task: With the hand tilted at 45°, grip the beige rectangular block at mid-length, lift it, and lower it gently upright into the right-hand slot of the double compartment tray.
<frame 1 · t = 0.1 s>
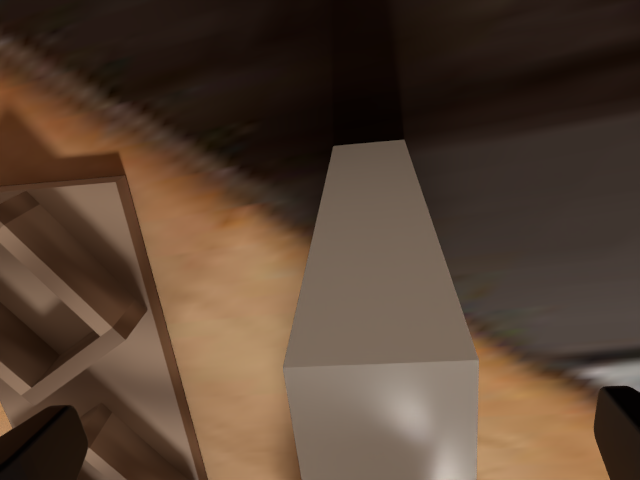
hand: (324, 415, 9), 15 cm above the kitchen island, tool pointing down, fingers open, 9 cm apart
double compartment tray: (91, 375, 28), on the kitchen island
beige rectangular block: (371, 187, 22), on the kitchen island
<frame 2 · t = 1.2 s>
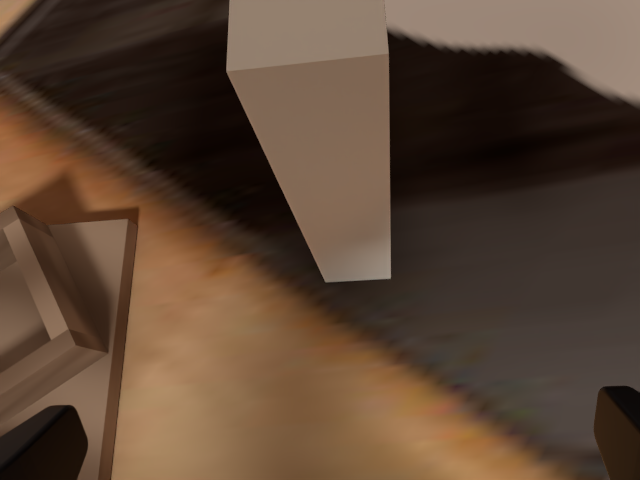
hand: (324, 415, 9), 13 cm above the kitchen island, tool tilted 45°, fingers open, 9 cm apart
double compartment tray: (5, 464, 22), on the kitchen island
beige rectangular block: (355, 239, 24), on the kitchen island
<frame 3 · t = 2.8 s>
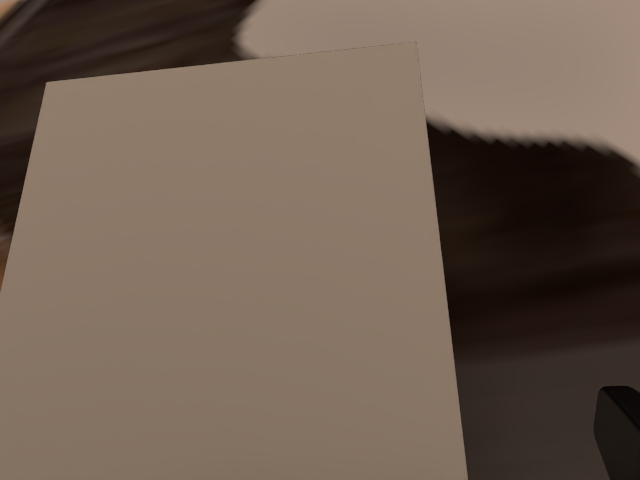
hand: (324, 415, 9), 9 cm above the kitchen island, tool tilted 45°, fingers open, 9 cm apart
beige rectangular block: (356, 415, 17), on the kitchen island
when the fingers open (10 cm above the kitchen island, at t = 7.8 s): beige rectangular block drops 1 cm, resting on double compartment tray.
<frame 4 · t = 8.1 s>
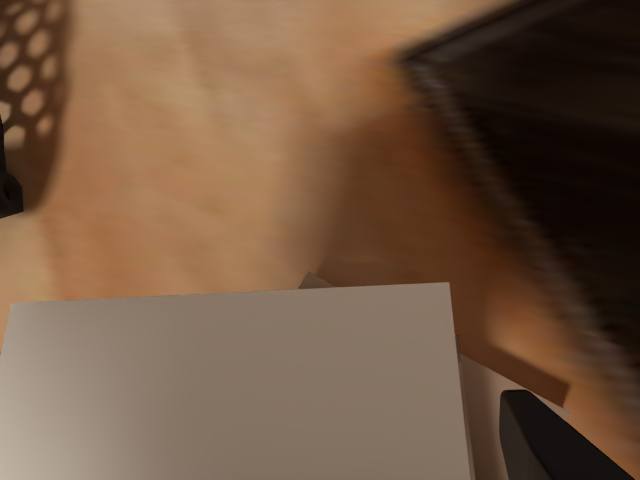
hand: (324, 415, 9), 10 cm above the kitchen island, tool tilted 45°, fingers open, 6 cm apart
beige rectangular block: (359, 469, 17), point 1 cm above the kitchen island, touching double compartment tray
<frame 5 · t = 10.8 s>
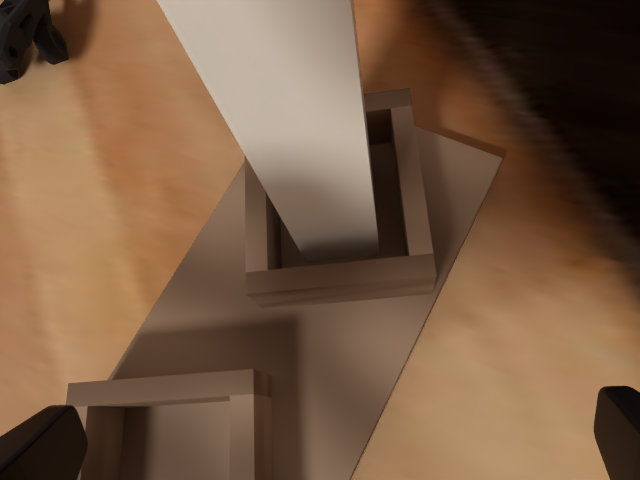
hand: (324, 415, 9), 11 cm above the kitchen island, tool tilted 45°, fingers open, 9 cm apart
double compartment tray: (273, 345, 21), on the kitchen island
beige rectangular block: (339, 212, 21), point 1 cm above the kitchen island, touching double compartment tray
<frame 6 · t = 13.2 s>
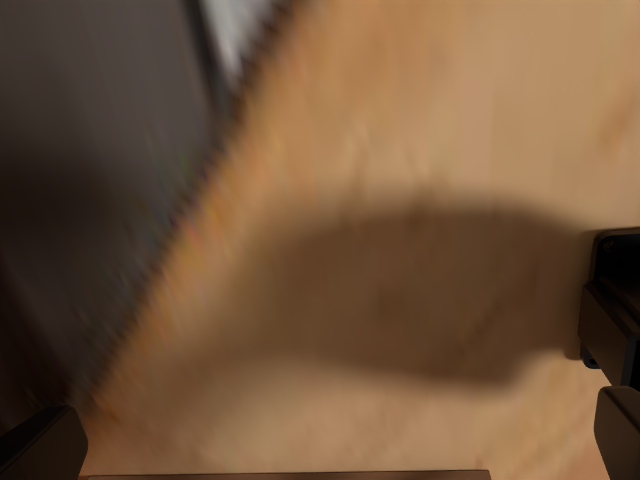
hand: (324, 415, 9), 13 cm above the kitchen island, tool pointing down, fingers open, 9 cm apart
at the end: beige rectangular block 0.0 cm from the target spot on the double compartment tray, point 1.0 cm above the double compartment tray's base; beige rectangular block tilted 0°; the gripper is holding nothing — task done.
